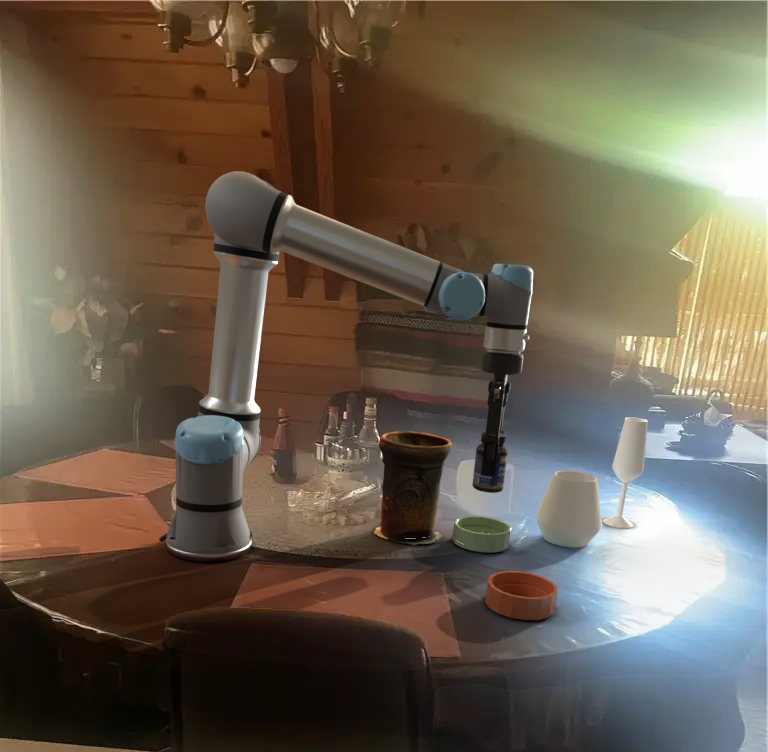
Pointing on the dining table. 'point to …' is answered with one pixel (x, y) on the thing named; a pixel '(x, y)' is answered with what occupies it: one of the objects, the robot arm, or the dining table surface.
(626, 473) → the champagne flute
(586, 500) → the cup
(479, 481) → the pill bottle
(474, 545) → the back bowl
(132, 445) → the dining table surface
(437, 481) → the vessel
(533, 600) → the front bowl
